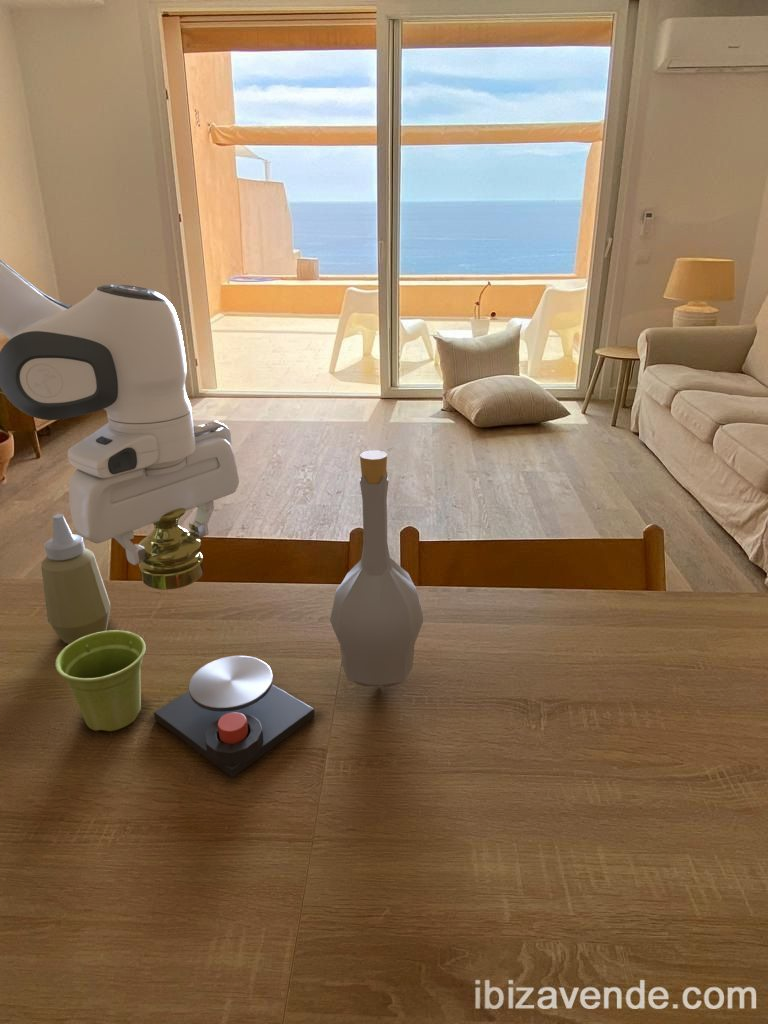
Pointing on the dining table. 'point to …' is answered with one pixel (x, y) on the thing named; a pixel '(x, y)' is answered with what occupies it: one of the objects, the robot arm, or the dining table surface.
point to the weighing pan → (230, 683)
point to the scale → (264, 723)
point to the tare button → (232, 728)
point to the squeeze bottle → (73, 585)
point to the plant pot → (105, 677)
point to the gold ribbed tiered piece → (171, 554)
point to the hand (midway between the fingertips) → (169, 548)
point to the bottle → (376, 595)
